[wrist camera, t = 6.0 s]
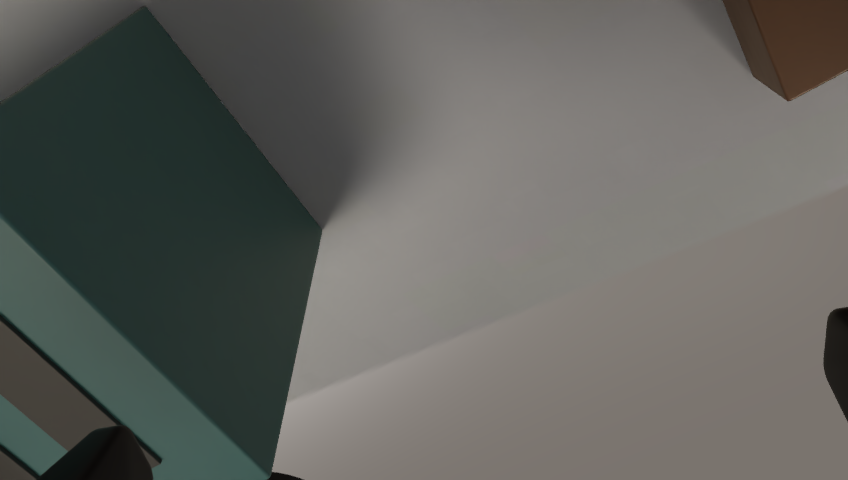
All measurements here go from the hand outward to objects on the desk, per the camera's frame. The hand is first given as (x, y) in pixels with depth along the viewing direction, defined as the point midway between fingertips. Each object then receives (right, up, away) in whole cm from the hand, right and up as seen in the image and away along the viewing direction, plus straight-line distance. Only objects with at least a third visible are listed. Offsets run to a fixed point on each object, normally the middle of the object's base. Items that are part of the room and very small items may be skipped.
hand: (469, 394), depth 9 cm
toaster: (-10, +3, +13) cm, 17 cm away
